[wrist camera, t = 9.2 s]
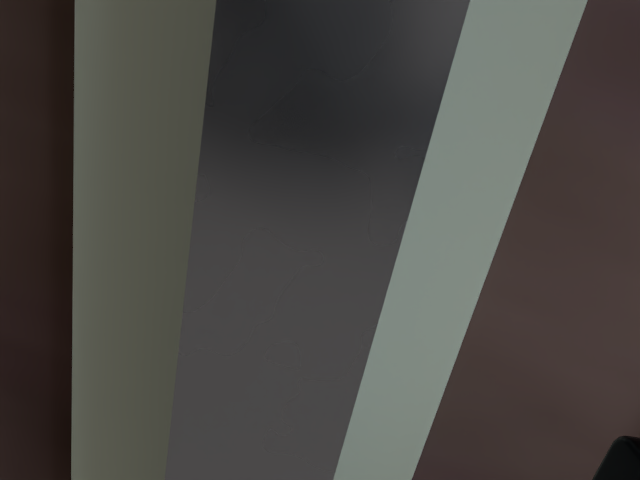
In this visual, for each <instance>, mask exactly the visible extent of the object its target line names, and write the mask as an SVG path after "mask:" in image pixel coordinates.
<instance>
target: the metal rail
mask: <svg viewBox="0 0 640 480" xmlns="http://www.w3.org/2000/svg"><path fill="white" fill-rule="evenodd" d="M469 3H470V0H216V7H215V17H214V26H213V35H212V44H211V54H210V63H209V72H208V82H207V91H206V100H205V109H204V119H203V128H202V137H201V146H200V156H199V165H198V174H197V184H196V193H195V202H194V211H193V221H192V230H191V239H190V249H189V258H188V267H187V276H186V286H185V295H184V304H183V314H182V323H181V332H180V341H179V351H178V360H177V369H176V379H175V388H174V397H173V406H172V416H171V425H170V434H169V444H168V453H167V462H166V471H165V480H333V479H334V475H335V472H336V468H337V465H338V461H339V458H340V454H341V451H342V447H343V444H344V440H345V437H346V433H347V430H348V426H349V423H350V419H351V416H352V412H353V409H354V405H355V402H356V398H357V395H358V391H359V388H360V384H361V381H362V377H363V374H364V370H365V367H366V363H367V360H368V356H369V353H370V350H371V346H372V343H373V339H374V336H375V332H376V329H377V325H378V322H379V318H380V315H381V311H382V308H383V304H384V301H385V297H386V294H387V290H388V287H389V283H390V280H391V276H392V273H393V269H394V266H395V262H396V259H397V255H398V252H399V248H400V245H401V241H402V238H403V234H404V231H405V227H406V224H407V220H408V217H409V213H410V210H411V206H412V203H413V199H414V196H415V192H416V189H417V185H418V182H419V178H420V175H421V171H422V168H423V164H424V161H425V157H426V154H427V150H428V147H429V143H430V140H431V136H432V133H433V129H434V126H435V122H436V119H437V115H438V112H439V108H440V105H441V101H442V98H443V94H444V91H445V87H446V84H447V80H448V77H449V73H450V70H451V66H452V63H453V59H454V56H455V52H456V49H457V45H458V42H459V38H460V35H461V31H462V28H463V24H464V21H465V17H466V14H467V10H468V7H469Z"/></svg>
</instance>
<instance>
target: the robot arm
mask: <svg viewBox="0 0 640 480" xmlns="http://www.w3.org/2000/svg"><path fill="white" fill-rule="evenodd" d="M593 480H640V438H637V437H630V436H621V437H619V438H617V439H616V440H615V441H614V442H613V443H612V445H611V447H610V449H609V450H608V452H607V454H606V456H605V458H604V459H603V461H602V463H601V465H600V467H599V468H598V470H597V472H596V474H595V476H594V477H593Z"/></svg>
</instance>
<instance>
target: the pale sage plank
mask: <svg viewBox="0 0 640 480" xmlns="http://www.w3.org/2000/svg"><path fill="white" fill-rule="evenodd" d="M587 1H588V0H470V3H469V7H468V10H467V14H466V17H465V21H464V24H463V28H462V31H461V35H460V38H459V42H458V45H457V49H456V52H455V56H454V59H453V63H452V66H451V70H450V73H449V77H448V80H447V84H446V87H445V91H444V94H443V98H442V101H441V105H440V108H439V112H438V115H437V119H436V122H435V126H434V129H433V133H432V136H431V140H430V143H429V147H428V150H427V154H426V157H425V161H424V164H423V168H422V171H421V175H420V178H419V182H418V185H417V189H416V192H415V196H414V199H413V203H412V206H411V210H410V213H409V217H408V220H407V224H406V227H405V231H404V234H403V238H402V241H401V245H400V248H399V252H398V255H397V259H396V262H395V266H394V269H393V273H392V276H391V280H390V283H389V287H388V290H387V294H386V297H385V301H384V304H383V308H382V311H381V315H380V318H379V322H378V325H377V329H376V332H375V336H374V339H373V343H372V346H371V350H370V353H369V356H368V360H367V363H366V367H365V370H364V374H363V377H362V381H361V384H360V388H359V391H358V395H357V398H356V402H355V405H354V409H353V412H352V416H351V419H350V423H349V426H348V430H347V433H346V437H345V440H344V444H343V447H342V451H341V454H340V458H339V461H338V465H337V468H336V472H335V475H334V479H333V480H412V477H413V475H414V472H415V469H416V466H417V464H418V461H419V458H420V455H421V453H422V450H423V447H424V445H425V442H426V439H427V436H428V434H429V431H430V428H431V425H432V423H433V420H434V417H435V415H436V412H437V409H438V406H439V404H440V401H441V398H442V396H443V393H444V390H445V387H446V385H447V382H448V379H449V376H450V374H451V371H452V368H453V366H454V363H455V360H456V357H457V355H458V352H459V349H460V346H461V344H462V341H463V338H464V336H465V333H466V330H467V327H468V325H469V322H470V319H471V317H472V314H473V311H474V308H475V306H476V303H477V300H478V297H479V295H480V292H481V289H482V287H483V284H484V281H485V278H486V276H487V273H488V270H489V267H490V265H491V262H492V259H493V257H494V254H495V251H496V248H497V246H498V243H499V240H500V238H501V235H502V232H503V229H504V227H505V224H506V221H507V218H508V216H509V213H510V210H511V208H512V205H513V202H514V199H515V197H516V194H517V191H518V189H519V186H520V183H521V180H522V178H523V175H524V172H525V169H526V167H527V164H528V161H529V159H530V156H531V153H532V150H533V148H534V145H535V142H536V139H537V137H538V134H539V131H540V129H541V126H542V123H543V120H544V118H545V115H546V112H547V110H548V107H549V104H550V101H551V99H552V96H553V93H554V90H555V88H556V85H557V82H558V80H559V77H560V74H561V71H562V69H563V66H564V63H565V60H566V58H567V55H568V52H569V50H570V47H571V44H572V41H573V39H574V36H575V33H576V31H577V28H578V25H579V22H580V20H581V17H582V14H583V11H584V9H585V6H586V3H587ZM215 7H216V0H75V43H74V175H73V308H72V441H71V480H165V471H166V462H167V453H168V444H169V434H170V425H171V416H172V406H173V397H174V388H175V379H176V369H177V360H178V351H179V341H180V332H181V323H182V314H183V304H184V295H185V286H186V276H187V267H188V258H189V249H190V239H191V230H192V221H193V211H194V202H195V193H196V184H197V174H198V165H199V156H200V146H201V137H202V128H203V119H204V109H205V100H206V91H207V82H208V72H209V63H210V54H211V44H212V35H213V26H214V17H215Z"/></svg>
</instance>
